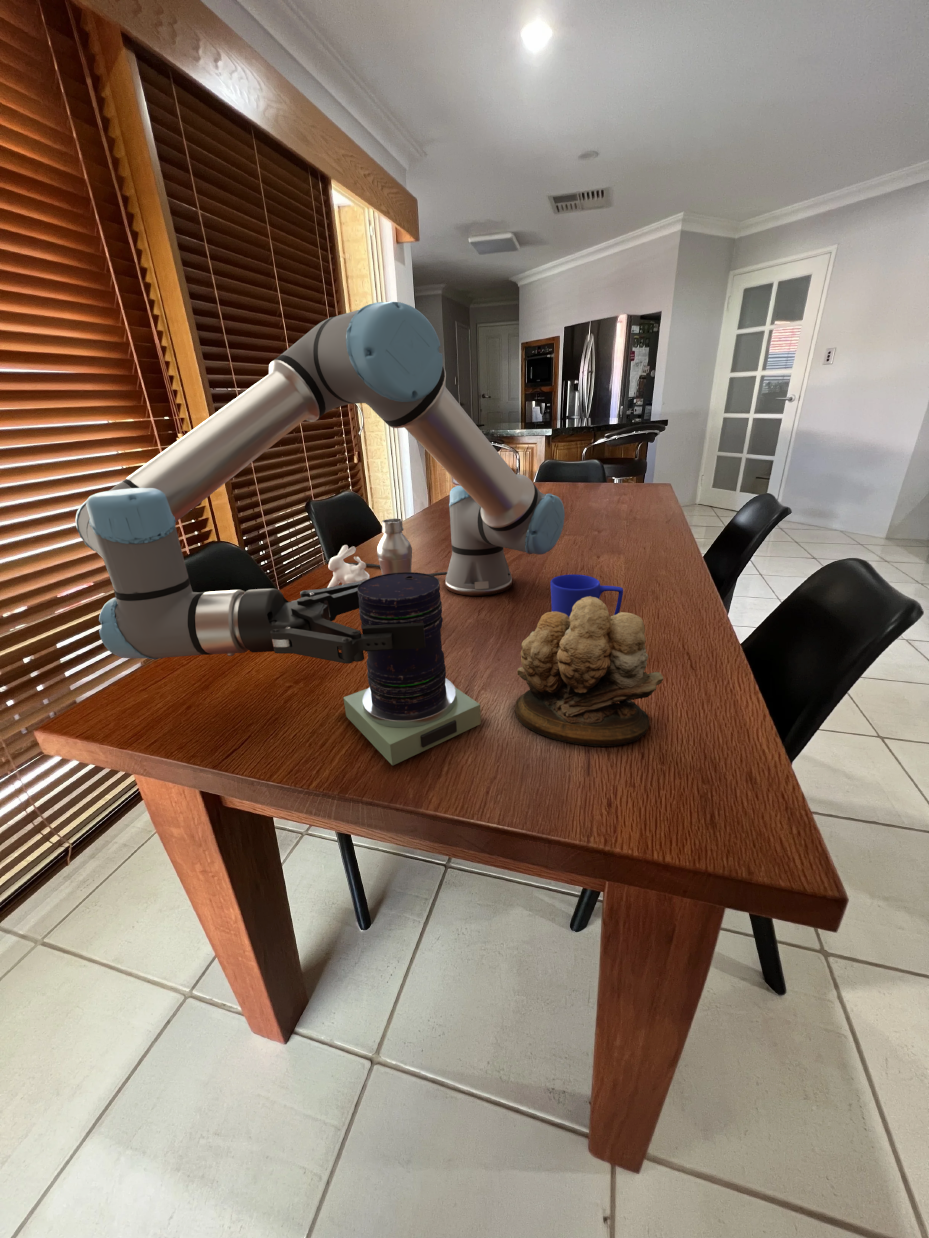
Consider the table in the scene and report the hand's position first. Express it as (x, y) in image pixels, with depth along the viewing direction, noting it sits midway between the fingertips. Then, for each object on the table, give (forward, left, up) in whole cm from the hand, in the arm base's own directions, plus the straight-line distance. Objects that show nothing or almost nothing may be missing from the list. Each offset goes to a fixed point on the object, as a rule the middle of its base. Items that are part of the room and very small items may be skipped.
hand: (426, 611), depth 60 cm
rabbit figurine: (-58, +15, -16) cm, 61 cm away
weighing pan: (-2, -2, -12) cm, 13 cm away
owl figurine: (+12, +15, -16) cm, 25 cm away
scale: (-2, -2, -15) cm, 16 cm away
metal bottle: (-31, +13, -16) cm, 37 cm away
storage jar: (-2, -3, -12) cm, 12 cm away
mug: (-5, +35, -16) cm, 38 cm away
